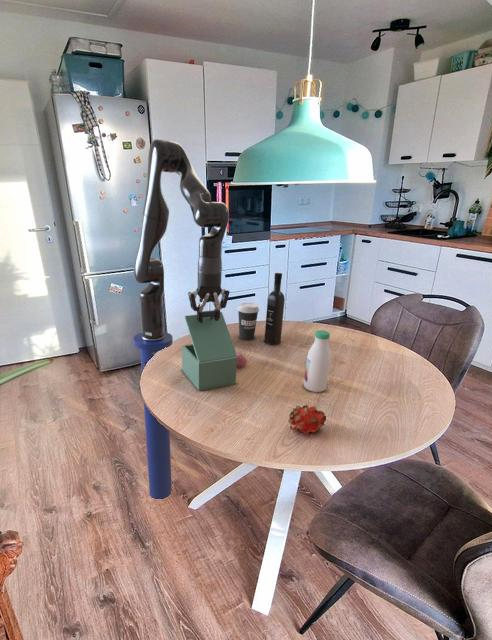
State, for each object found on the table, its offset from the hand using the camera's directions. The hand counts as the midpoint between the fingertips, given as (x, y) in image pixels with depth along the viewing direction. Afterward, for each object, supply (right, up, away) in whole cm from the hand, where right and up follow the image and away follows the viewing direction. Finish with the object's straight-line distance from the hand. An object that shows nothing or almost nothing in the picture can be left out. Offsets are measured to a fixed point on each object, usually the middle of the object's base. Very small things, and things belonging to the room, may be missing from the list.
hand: (208, 321), depth 129 cm
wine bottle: (+26, -5, +40) cm, 49 cm away
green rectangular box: (0, -19, +8) cm, 21 cm away
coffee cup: (+15, -3, +45) cm, 47 cm away
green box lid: (+1, -5, 0) cm, 5 cm away
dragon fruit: (+28, -33, -20) cm, 48 cm away
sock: (+11, -15, +19) cm, 26 cm away
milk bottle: (+36, -22, +4) cm, 43 cm away
